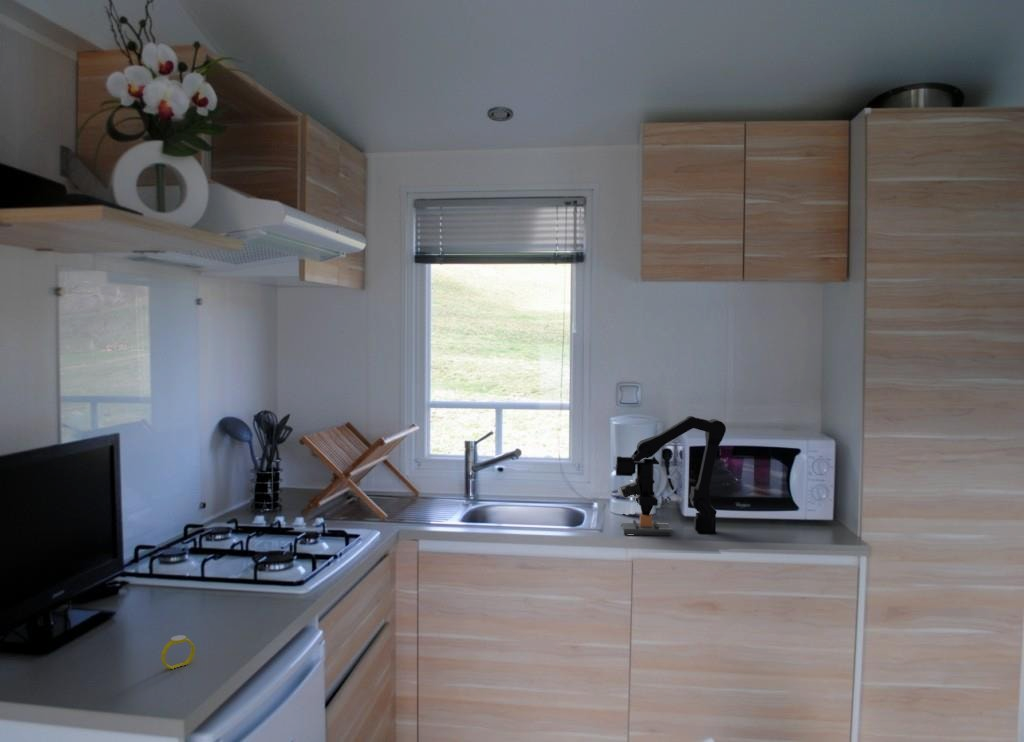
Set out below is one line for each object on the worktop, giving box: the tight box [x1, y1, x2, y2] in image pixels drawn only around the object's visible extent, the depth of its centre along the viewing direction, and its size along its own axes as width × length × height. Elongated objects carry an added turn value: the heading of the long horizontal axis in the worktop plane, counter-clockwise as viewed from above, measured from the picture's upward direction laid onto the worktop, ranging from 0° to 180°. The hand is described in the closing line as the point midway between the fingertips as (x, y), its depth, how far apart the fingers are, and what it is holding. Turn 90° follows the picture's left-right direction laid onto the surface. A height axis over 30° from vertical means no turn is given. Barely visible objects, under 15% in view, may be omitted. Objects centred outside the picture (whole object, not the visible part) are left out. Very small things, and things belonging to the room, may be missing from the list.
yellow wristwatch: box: [160, 634, 196, 670], centre depth 138 cm, size 6×3×6 cm, turn 133°
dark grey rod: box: [623, 532, 671, 537], centre depth 237 cm, size 16×1×1 cm, turn 87°
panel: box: [620, 519, 673, 536], centre depth 242 cm, size 16×8×3 cm, turn 87°
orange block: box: [639, 514, 653, 527], centre depth 242 cm, size 4×2×4 cm, turn 87°
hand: (644, 520), depth 244 cm, fingers closed
